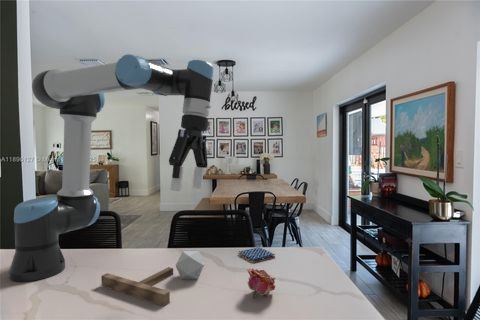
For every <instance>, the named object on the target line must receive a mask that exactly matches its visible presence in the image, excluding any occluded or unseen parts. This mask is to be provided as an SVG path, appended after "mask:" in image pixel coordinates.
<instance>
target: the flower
mask: <svg viewBox="0 0 480 320" xmlns="http://www.w3.org/2000/svg"><path fill="white" fill-rule="evenodd" d="M246 271H247V272H248V275H249V277H248V278H247V279H248V281H246V283H247V286H248V288H249V290H252V291H253V295H252V299H256V296H257V295H259V296H261V297H262V298H263V297H266V298H267V297H269V298H271V296H269V295H268V294H269V293H270V292H272V291H275V288H276V285H275V280H276V277H272V276H271V275H270V274H268V273H267V271H266V270H265V269H260V270H258V269H254V268H253V267H252V269H251V268H249V269H247V270H246Z"/></svg>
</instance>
